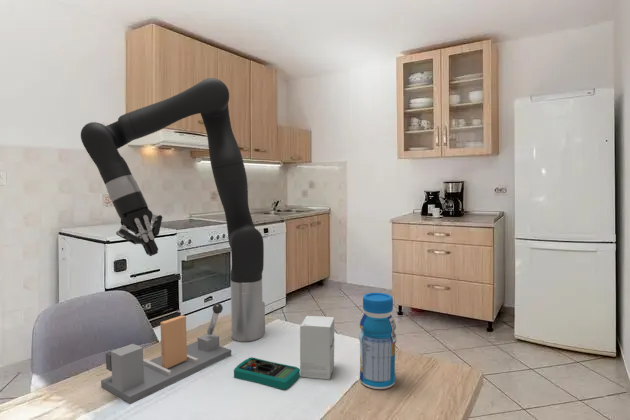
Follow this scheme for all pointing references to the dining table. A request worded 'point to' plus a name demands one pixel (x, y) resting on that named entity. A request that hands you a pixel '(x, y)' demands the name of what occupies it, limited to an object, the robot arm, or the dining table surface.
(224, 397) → the dining table surface
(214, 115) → the robot arm
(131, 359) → the console
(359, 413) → the dining table surface
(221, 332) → the dining table surface
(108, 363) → the push button
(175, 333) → the tan upright board
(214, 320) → the toggle lever
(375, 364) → the beverage bottle
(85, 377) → the dining table surface
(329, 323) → the supplement box
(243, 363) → the digital multimeter
